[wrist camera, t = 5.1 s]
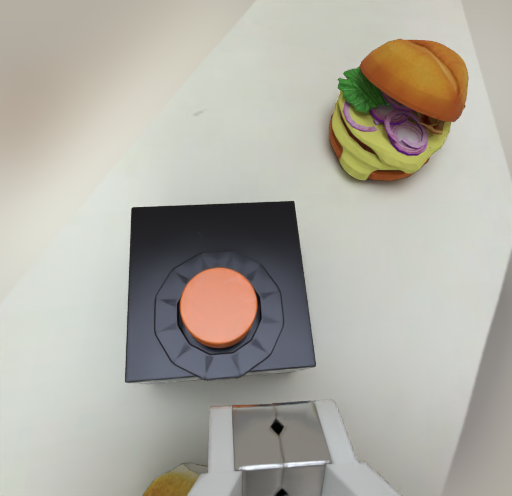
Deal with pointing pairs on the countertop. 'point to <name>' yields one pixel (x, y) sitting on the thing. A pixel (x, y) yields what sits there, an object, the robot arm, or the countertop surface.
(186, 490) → the bread roll
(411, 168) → the cheeseburger
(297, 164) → the countertop surface
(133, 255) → the black push button box
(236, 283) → the orange button cap
